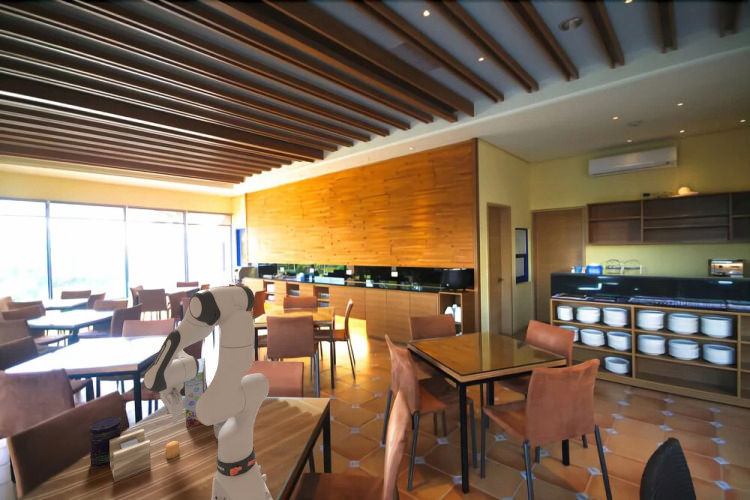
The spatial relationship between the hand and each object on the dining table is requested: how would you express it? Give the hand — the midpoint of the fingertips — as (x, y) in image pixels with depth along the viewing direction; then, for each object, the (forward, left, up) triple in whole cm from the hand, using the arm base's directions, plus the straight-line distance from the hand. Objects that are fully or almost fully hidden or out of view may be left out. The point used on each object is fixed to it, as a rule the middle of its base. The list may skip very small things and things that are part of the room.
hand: (171, 418), depth 134 cm
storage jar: (+15, +19, -15) cm, 29 cm away
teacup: (-2, -22, -15) cm, 27 cm away
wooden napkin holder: (+4, +13, -15) cm, 21 cm away
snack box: (+27, -17, -15) cm, 35 cm away
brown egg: (0, 0, -15) cm, 15 cm away
